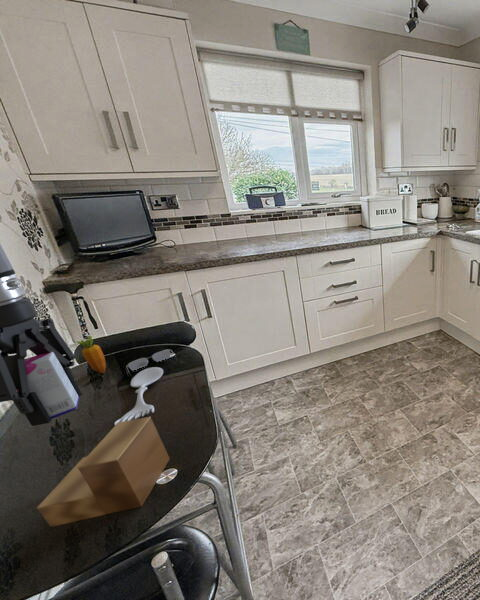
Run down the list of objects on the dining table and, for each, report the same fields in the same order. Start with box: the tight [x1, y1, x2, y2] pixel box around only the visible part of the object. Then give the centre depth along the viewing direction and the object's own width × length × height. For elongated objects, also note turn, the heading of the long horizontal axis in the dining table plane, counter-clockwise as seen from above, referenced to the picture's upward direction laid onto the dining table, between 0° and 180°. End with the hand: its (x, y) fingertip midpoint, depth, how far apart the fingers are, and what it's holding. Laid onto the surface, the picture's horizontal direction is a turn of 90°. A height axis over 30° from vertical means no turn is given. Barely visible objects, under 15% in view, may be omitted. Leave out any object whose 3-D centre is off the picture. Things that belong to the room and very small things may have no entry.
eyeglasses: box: [125, 349, 178, 379], centre depth 117 cm, size 14×8×4 cm, turn 136°
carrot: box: [76, 335, 107, 375], centre depth 115 cm, size 5×5×15 cm
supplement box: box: [16, 352, 80, 420], centre depth 63 cm, size 6×6×12 cm
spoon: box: [114, 366, 164, 426], centre depth 100 cm, size 9×32×4 cm, turn 32°
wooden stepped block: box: [36, 416, 171, 528], centre depth 67 cm, size 16×12×12 cm
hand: (58, 409), depth 65 cm, fingers closed on supplement box, 8 cm apart
